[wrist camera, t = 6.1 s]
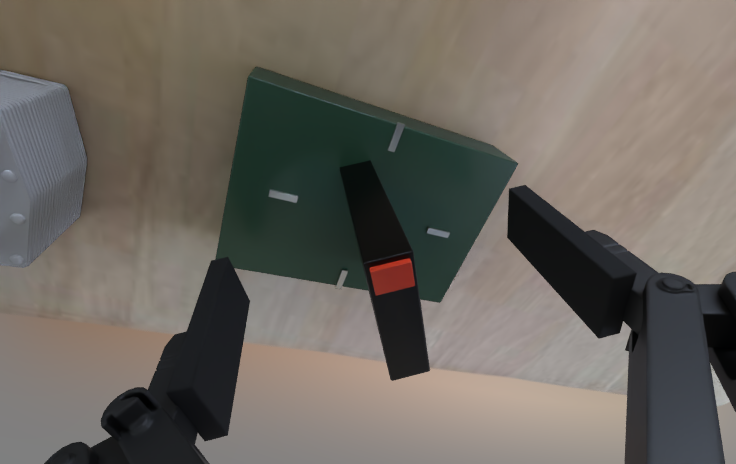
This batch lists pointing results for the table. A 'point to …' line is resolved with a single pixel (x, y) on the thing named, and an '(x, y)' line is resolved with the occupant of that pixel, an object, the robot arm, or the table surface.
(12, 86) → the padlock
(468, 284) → the table surface
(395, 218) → the black bar red tab
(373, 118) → the green rectangular block
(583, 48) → the table surface
